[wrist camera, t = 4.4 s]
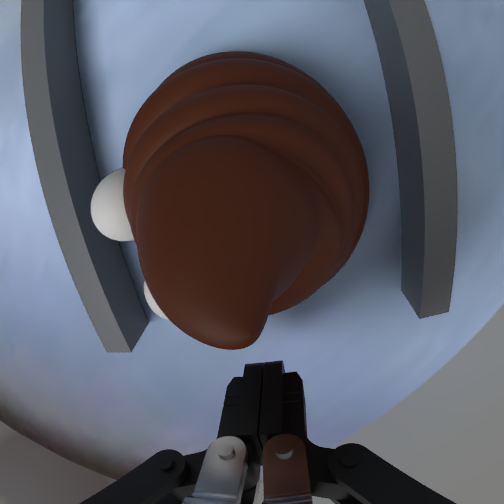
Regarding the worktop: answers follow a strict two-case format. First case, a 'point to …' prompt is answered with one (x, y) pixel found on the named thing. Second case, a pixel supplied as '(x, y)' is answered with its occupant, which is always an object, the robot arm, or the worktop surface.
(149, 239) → the poop emoji
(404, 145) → the channel
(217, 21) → the worktop surface
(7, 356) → the worktop surface
